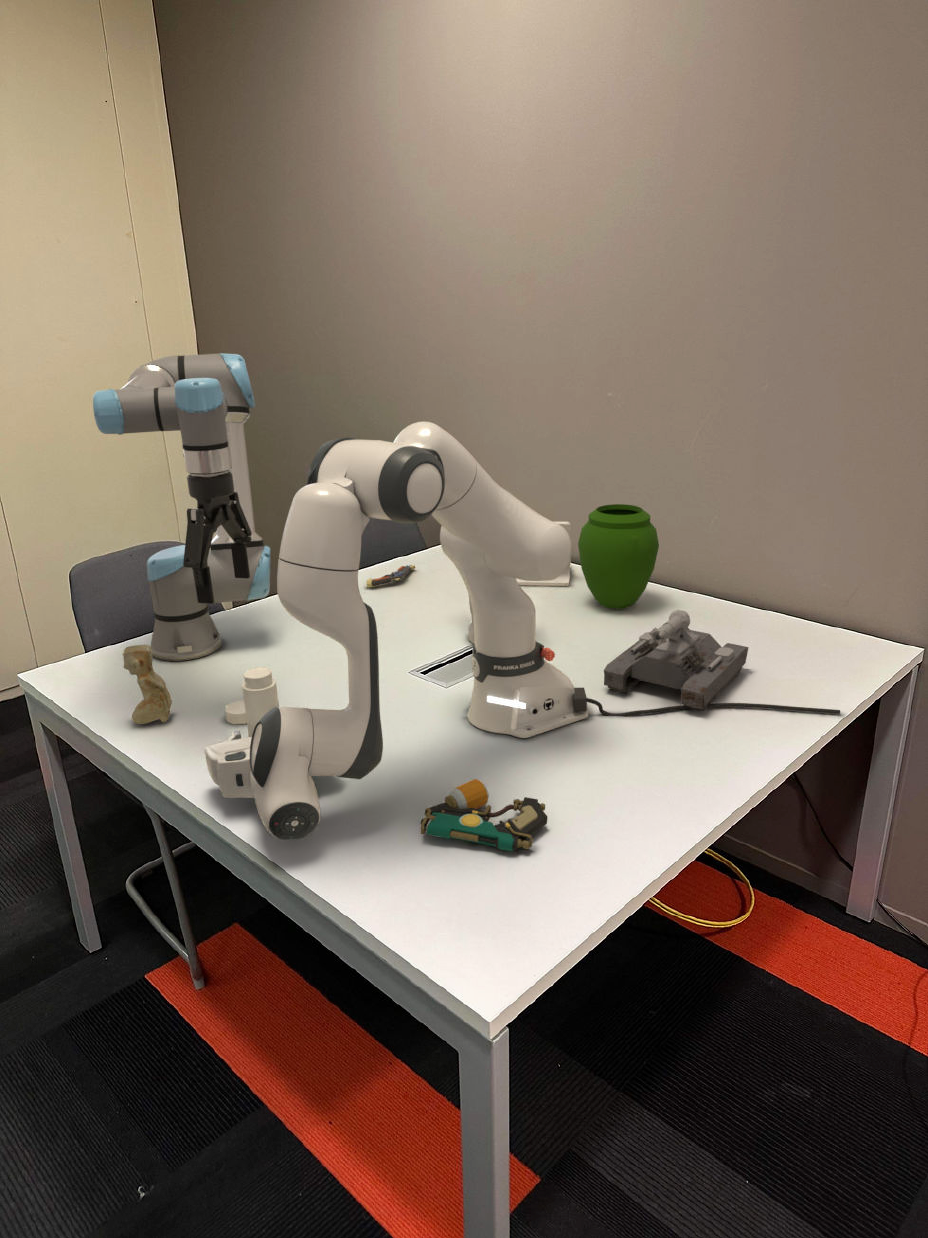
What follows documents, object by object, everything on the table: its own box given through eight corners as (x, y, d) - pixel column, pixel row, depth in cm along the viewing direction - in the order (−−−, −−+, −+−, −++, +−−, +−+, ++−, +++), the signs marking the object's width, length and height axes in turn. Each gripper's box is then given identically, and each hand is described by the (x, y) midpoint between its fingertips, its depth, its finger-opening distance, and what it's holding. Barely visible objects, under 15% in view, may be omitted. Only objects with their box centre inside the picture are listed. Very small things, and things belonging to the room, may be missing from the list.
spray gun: (558, 822, 128) (509, 880, 116) (464, 786, 136) (409, 838, 124) (560, 798, 126) (510, 855, 114) (464, 764, 134) (409, 814, 122)
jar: (276, 752, 149) (265, 663, 143) (290, 764, 145) (280, 673, 139) (247, 763, 146) (235, 672, 140) (261, 775, 142) (249, 682, 136)
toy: (655, 649, 187) (658, 584, 181) (746, 669, 176) (753, 600, 170) (602, 692, 167) (604, 620, 162) (701, 717, 156) (707, 641, 151)
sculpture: (138, 714, 164) (124, 642, 159) (176, 711, 165) (164, 639, 159) (130, 728, 159) (116, 654, 153) (170, 725, 159) (157, 651, 154)
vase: (599, 587, 227) (601, 497, 218) (668, 600, 216) (673, 505, 208) (562, 608, 212) (564, 513, 204) (634, 623, 202) (639, 523, 193)
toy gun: (363, 580, 231) (399, 577, 228) (382, 564, 248) (415, 561, 246) (365, 590, 231) (400, 587, 229) (384, 573, 249) (417, 570, 247)
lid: (220, 722, 160) (218, 712, 160) (237, 708, 166) (235, 698, 165) (247, 726, 159) (246, 715, 158) (263, 712, 164) (262, 701, 163)
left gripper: (224, 458, 158) (238, 567, 166) (148, 488, 135) (168, 612, 143) (261, 458, 156) (274, 569, 164) (191, 489, 134) (209, 615, 141)
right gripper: (341, 737, 134) (323, 702, 146) (207, 764, 128) (200, 724, 140) (344, 772, 136) (326, 734, 149) (212, 800, 130) (205, 758, 142)
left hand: (225, 589), depth 154 cm, fingers open, 13 cm apart
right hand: (264, 729), depth 144 cm, fingers open, 8 cm apart
